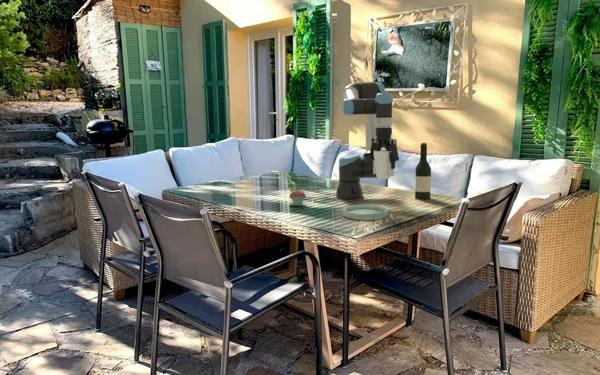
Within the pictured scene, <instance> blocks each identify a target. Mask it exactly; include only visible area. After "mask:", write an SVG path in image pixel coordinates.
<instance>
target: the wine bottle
mask: <svg viewBox="0 0 600 375" xmlns="http://www.w3.org/2000/svg"><path fill="white" fill-rule="evenodd" d="M427 154H428V144H427V143H426V142H421V144H420V158H419V162H418V163H417V165H416V166H415V177H414V178H415V182H414V189H415V190H414V198H415V200H420V201H423V200H425V201H427V200H430V199H431V185H432V184H431V183H432V178H431V176H432V167H431V165H430V164H429V162H428V161H427V159H428V157H427V156H428V155H427Z"/></svg>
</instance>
